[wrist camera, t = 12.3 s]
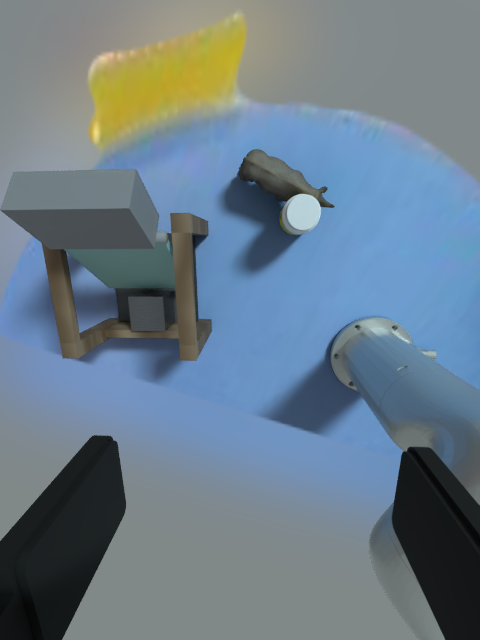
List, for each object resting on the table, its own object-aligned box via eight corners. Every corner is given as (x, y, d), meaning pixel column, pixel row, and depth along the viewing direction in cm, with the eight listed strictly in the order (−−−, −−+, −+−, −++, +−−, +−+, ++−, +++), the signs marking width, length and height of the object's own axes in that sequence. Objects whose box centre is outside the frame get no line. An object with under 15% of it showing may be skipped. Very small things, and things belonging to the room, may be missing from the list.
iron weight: (162, 296, 40) (165, 331, 41) (173, 290, 44) (175, 321, 46) (127, 296, 40) (131, 330, 41) (141, 290, 45) (144, 321, 46)
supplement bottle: (291, 193, 40) (300, 181, 32) (318, 213, 41) (333, 205, 33) (272, 223, 41) (275, 218, 33) (298, 242, 42) (307, 241, 34)
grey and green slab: (144, 168, 24) (137, 208, 23) (192, 272, 42) (189, 297, 41) (5, 172, 25) (-8, 210, 24) (111, 272, 43) (106, 297, 42)
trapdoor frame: (207, 221, 42) (188, 212, 30) (211, 331, 46) (196, 360, 35) (96, 222, 43) (36, 215, 31) (110, 330, 47) (62, 358, 36)
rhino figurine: (320, 224, 41) (330, 222, 35) (235, 180, 40) (231, 170, 34) (335, 197, 40) (348, 189, 34) (248, 150, 39) (246, 135, 33)
